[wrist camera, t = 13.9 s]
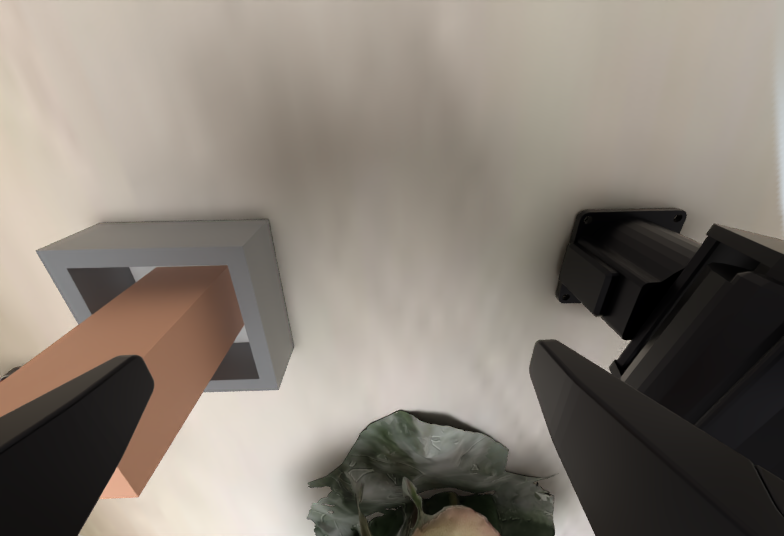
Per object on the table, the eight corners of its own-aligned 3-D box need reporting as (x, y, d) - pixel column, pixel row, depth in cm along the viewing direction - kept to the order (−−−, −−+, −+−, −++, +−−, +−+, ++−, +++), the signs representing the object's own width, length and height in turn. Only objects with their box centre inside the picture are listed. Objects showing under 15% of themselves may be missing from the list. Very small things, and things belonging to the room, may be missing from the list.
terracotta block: (229, 265, 20) (84, 420, 10) (245, 322, 22) (138, 497, 12) (156, 267, 20) (-58, 425, 10) (179, 324, 22) (20, 501, 12)
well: (268, 219, 19) (242, 246, 16) (293, 347, 24) (278, 389, 20) (99, 222, 19) (35, 250, 16) (158, 350, 24) (119, 394, 20)
